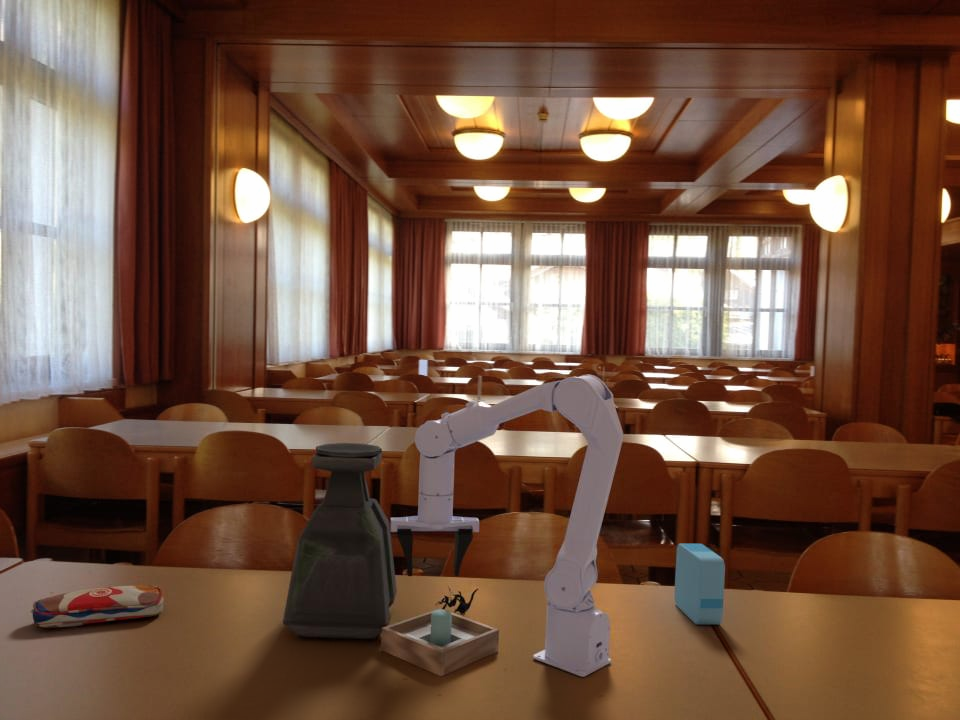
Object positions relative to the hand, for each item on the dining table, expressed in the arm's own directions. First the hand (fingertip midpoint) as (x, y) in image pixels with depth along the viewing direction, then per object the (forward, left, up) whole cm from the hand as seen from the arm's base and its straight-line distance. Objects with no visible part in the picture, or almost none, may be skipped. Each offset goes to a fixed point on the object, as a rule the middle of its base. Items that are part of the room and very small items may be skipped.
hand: (432, 574), depth 131 cm
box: (-6, +4, -10) cm, 12 cm away
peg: (-6, +4, -10) cm, 12 cm away
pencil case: (+42, +36, -10) cm, 56 cm away
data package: (-27, -42, -10) cm, 51 cm away
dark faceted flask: (+13, +8, -10) cm, 18 cm away
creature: (+4, -9, -10) cm, 14 cm away
